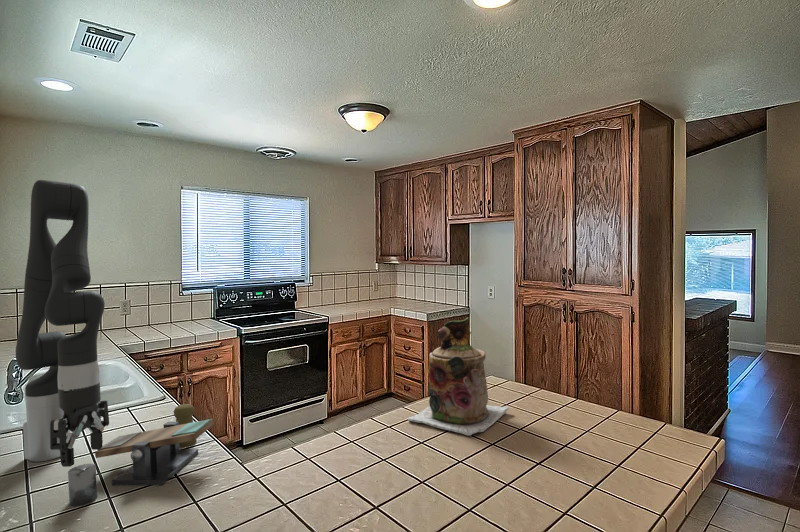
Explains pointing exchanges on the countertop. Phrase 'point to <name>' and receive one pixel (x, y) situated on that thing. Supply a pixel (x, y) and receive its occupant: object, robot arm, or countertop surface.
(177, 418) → the olive brown waisted cylinder
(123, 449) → the beam
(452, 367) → the cookie jar
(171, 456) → the seesaw stand
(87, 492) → the cylinder
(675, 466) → the countertop surface
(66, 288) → the robot arm
